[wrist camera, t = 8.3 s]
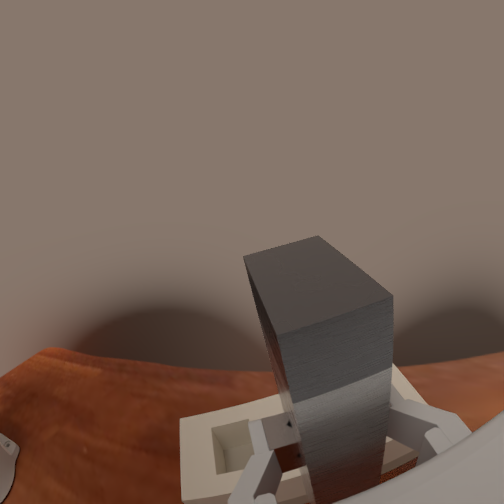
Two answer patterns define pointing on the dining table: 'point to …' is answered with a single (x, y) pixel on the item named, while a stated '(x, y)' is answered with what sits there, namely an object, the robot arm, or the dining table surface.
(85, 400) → the dining table surface
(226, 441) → the joystick lever base
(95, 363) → the dining table surface
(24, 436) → the dining table surface
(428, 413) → the robot arm
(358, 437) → the tall square peg
